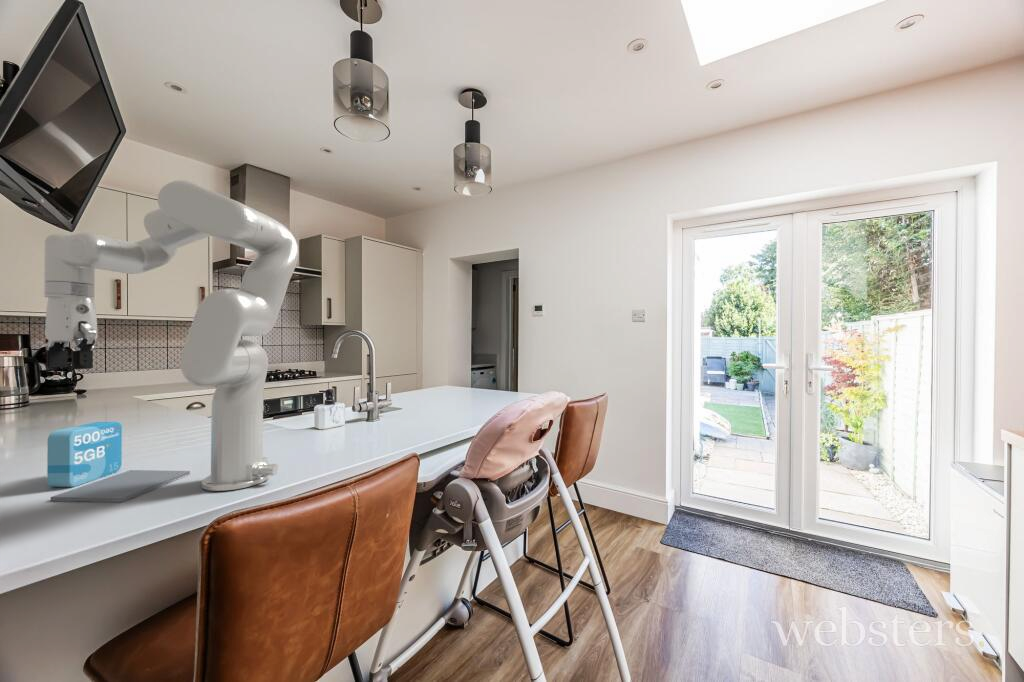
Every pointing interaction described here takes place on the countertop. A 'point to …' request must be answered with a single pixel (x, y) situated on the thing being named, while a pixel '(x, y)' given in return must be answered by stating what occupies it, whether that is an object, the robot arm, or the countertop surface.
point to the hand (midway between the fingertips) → (69, 368)
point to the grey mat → (121, 486)
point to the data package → (83, 453)
